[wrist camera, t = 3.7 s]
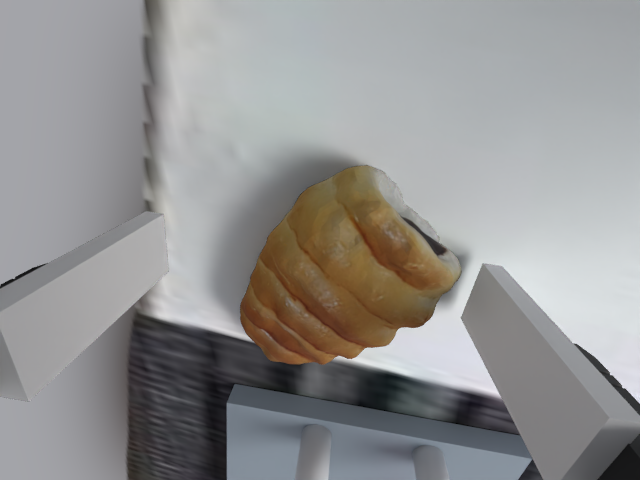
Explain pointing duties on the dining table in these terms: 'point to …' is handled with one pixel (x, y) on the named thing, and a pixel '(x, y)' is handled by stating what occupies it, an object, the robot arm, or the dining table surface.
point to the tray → (357, 443)
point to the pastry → (345, 272)
